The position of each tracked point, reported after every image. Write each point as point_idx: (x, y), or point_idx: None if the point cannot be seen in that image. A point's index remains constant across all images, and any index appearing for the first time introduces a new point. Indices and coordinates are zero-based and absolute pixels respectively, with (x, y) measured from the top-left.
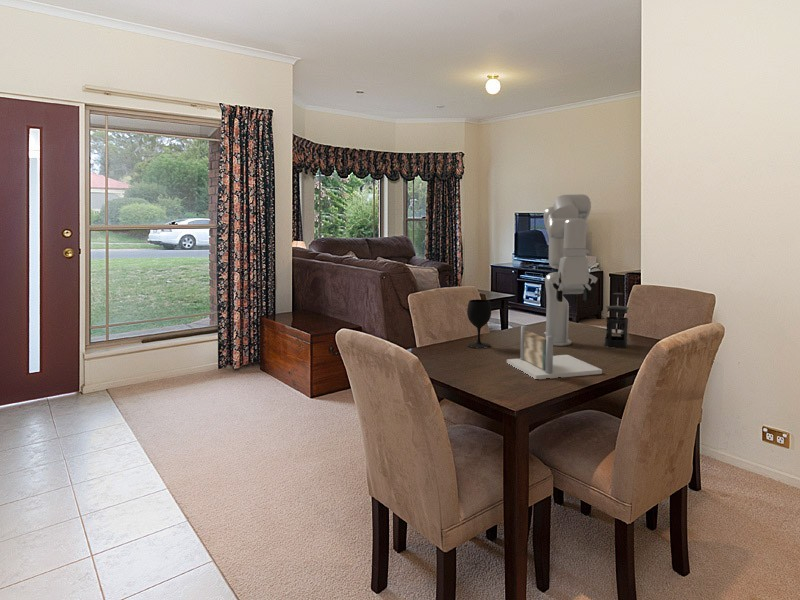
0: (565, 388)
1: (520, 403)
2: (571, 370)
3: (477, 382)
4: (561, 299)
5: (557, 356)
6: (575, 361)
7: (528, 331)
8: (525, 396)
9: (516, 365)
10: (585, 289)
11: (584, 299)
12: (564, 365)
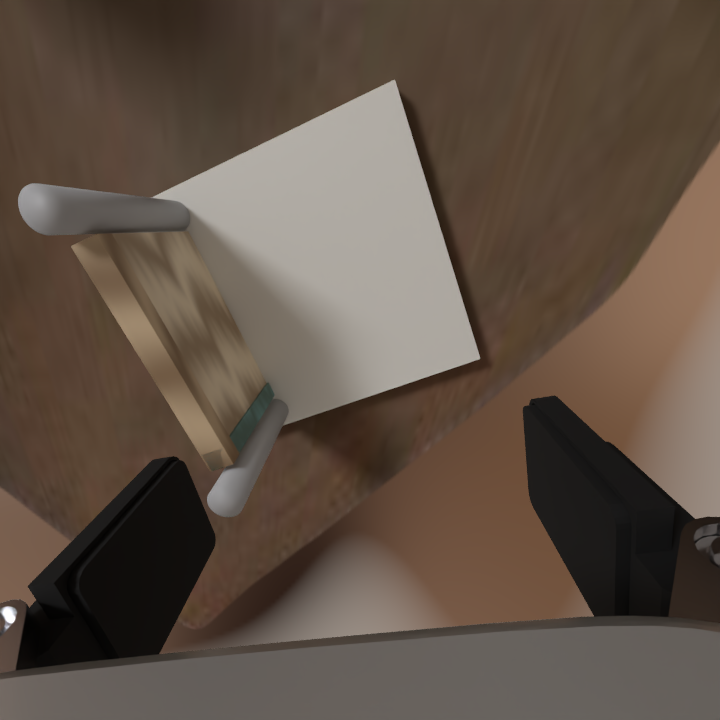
0: (320, 505)
1: (204, 601)
2: (360, 377)
3: (70, 466)
4: (194, 568)
5: (336, 133)
6: (405, 233)
7: (101, 256)
8: (213, 563)
9: None
10: (638, 594)
11: (530, 451)
12: (345, 307)
